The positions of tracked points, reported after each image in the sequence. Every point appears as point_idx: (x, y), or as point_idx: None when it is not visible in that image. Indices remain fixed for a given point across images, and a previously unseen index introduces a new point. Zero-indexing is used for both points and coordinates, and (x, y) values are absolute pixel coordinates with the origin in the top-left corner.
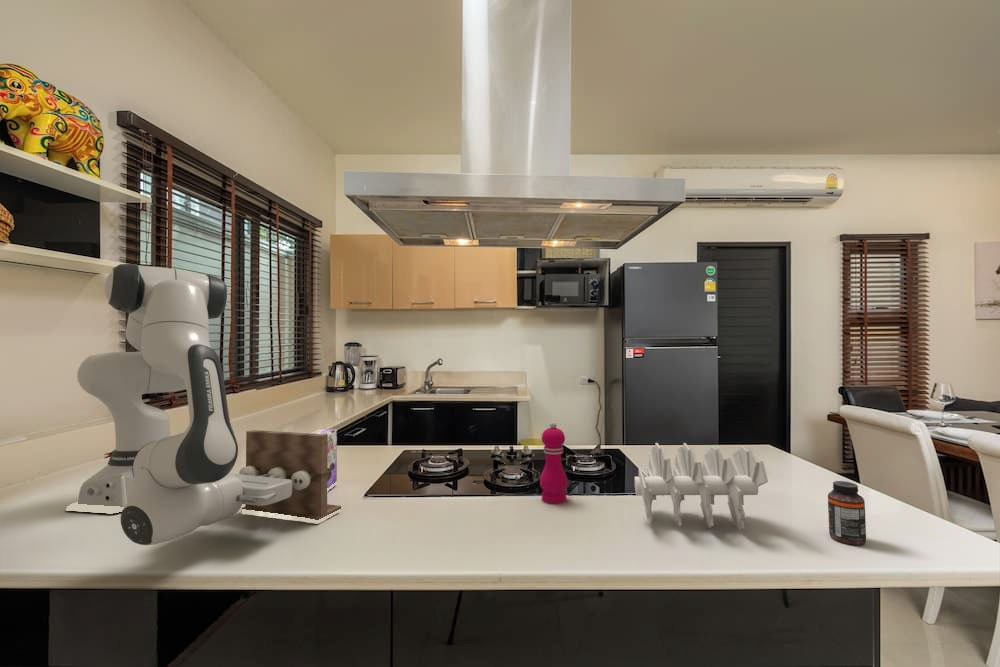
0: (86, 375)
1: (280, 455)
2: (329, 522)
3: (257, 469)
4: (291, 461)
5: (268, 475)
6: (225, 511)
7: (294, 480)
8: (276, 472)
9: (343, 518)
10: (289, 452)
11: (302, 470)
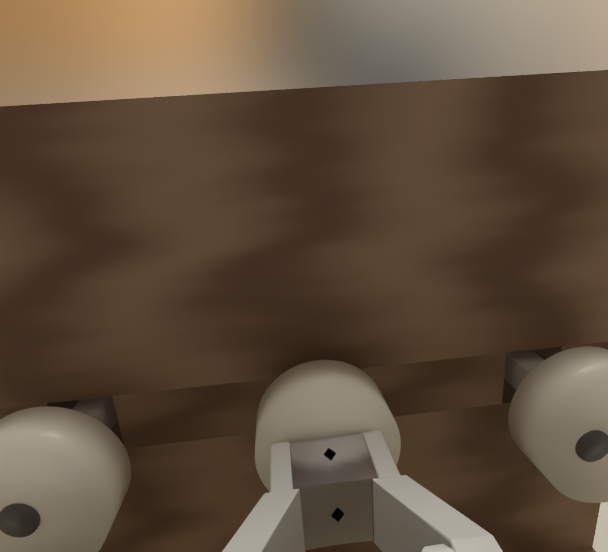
0: None
1: (288, 275)
2: (602, 548)
3: (78, 407)
4: (392, 302)
5: (325, 470)
6: None
7: (584, 445)
8: (349, 413)
9: None
10: (371, 240)
11: (584, 349)
